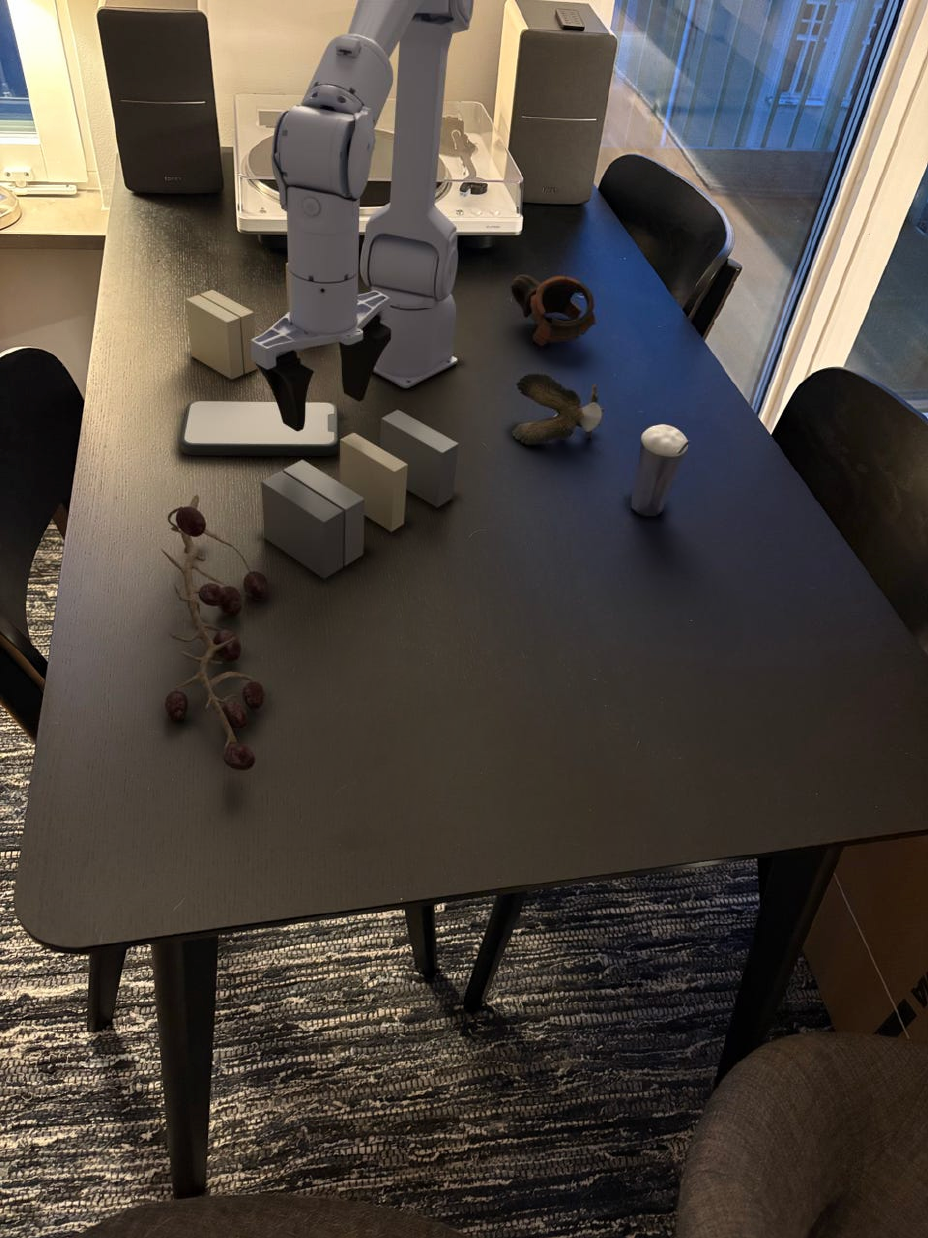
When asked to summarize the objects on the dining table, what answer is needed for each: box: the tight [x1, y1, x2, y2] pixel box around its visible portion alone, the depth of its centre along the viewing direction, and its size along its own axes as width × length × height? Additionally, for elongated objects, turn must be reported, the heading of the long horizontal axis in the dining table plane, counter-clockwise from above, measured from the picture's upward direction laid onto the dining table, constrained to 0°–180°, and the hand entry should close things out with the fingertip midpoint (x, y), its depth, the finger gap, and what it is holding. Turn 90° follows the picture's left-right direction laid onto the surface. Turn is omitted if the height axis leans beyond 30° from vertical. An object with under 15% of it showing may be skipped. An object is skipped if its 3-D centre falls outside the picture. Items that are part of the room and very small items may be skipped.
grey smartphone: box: [179, 400, 340, 457], centre depth 102 cm, size 9×2×16 cm
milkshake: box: [630, 423, 692, 517], centre depth 96 cm, size 5×5×10 cm
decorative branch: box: [160, 494, 270, 771], centre depth 79 cm, size 11×9×30 cm
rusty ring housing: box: [510, 274, 597, 347], centre depth 123 cm, size 12×10×8 cm
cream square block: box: [339, 432, 408, 533], centre depth 92 cm, size 2×7×7 cm, turn 50°
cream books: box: [185, 262, 290, 380], centre depth 113 cm, size 17×7×7 cm, turn 140°
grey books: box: [260, 409, 459, 580], centre depth 92 cm, size 18×8×6 cm, turn 140°
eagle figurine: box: [511, 372, 605, 446], centre depth 106 cm, size 8×7×9 cm
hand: (324, 410), depth 89 cm, fingers open, 7 cm apart
